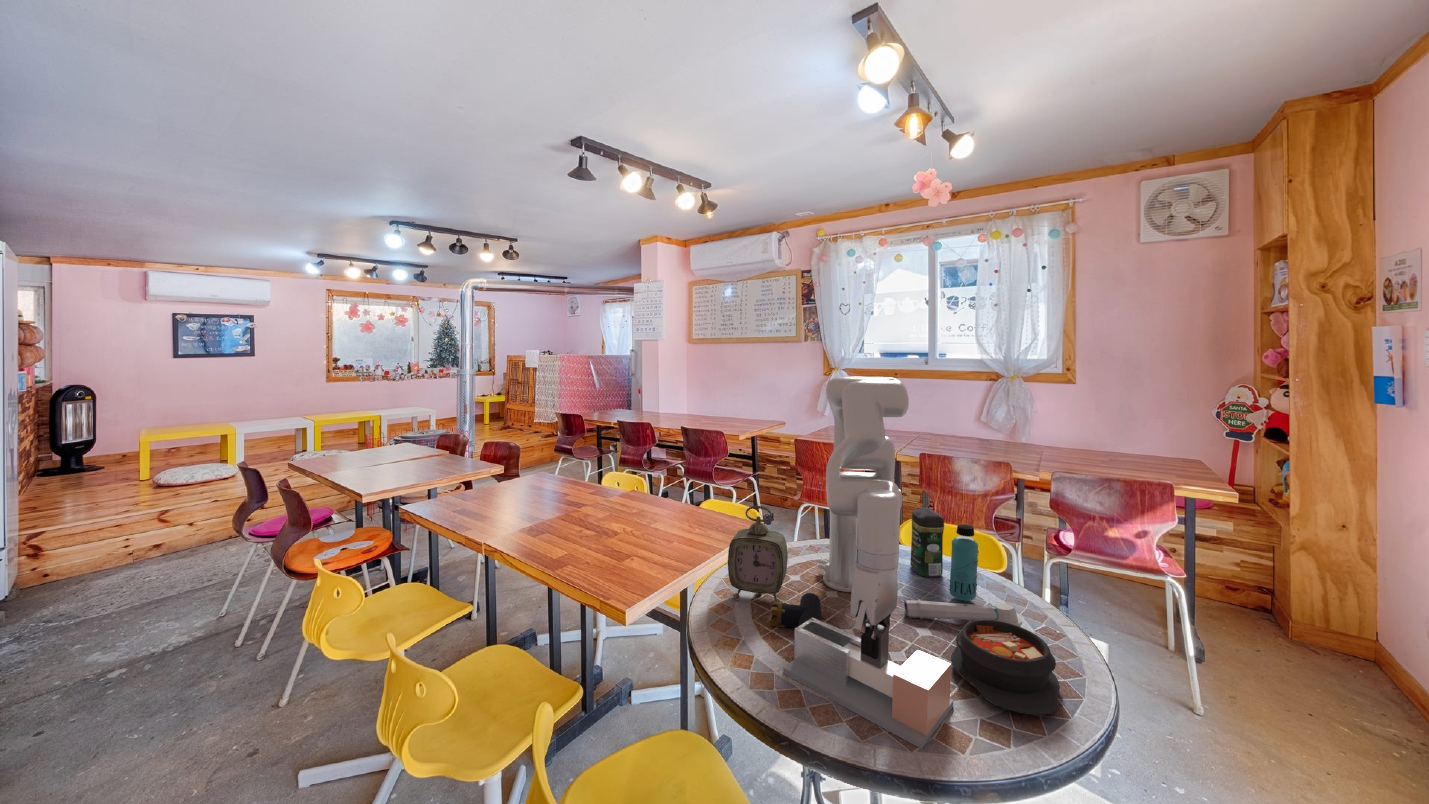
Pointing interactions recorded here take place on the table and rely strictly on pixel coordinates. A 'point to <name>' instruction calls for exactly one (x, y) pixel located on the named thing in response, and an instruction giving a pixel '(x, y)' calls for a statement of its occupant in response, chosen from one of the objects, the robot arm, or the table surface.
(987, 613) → the electric cleaning brush
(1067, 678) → the table surface
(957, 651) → the casserole
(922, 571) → the coffee jar
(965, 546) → the beverage bottle
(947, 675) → the socket block
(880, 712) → the base board
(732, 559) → the tabletop clock
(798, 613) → the pipe connector
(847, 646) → the sliding latch bolt
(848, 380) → the robot arm
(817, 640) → the outer sleeve
